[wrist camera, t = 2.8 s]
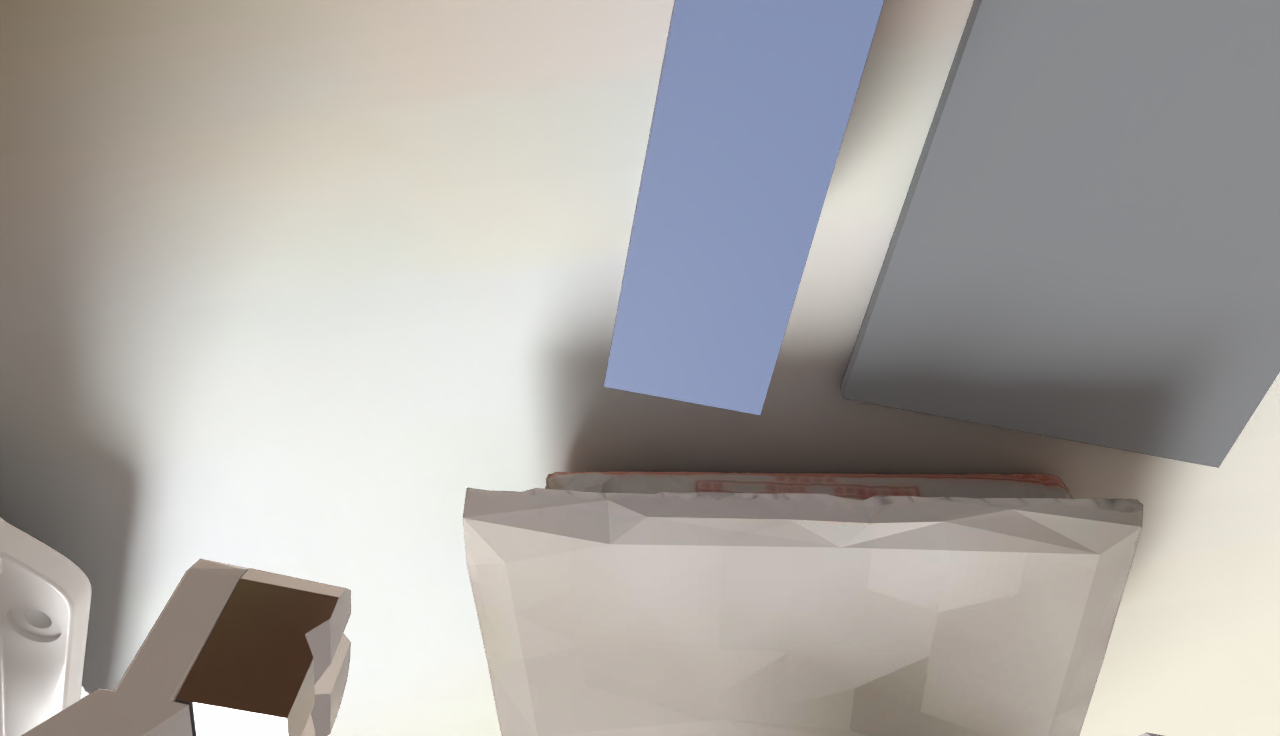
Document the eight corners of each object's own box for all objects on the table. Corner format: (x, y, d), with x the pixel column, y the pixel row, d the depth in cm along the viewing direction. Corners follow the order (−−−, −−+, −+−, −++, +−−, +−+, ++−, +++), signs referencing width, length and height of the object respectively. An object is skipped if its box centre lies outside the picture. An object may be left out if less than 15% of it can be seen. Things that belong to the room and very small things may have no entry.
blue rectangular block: (755, 257, 29) (760, 415, 23) (630, 233, 28) (603, 386, 23) (852, -104, 23) (889, -17, 18) (699, -135, 23) (686, -58, 17)
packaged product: (1040, 649, 36) (1101, 414, 31) (1080, 773, 32) (1158, 529, 27) (517, 636, 38) (485, 407, 32) (493, 754, 34) (451, 517, 28)
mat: (1210, 454, 31) (1218, 467, 30) (840, 386, 31) (842, 398, 30) (1581, -139, 22) (1601, -134, 21) (1059, -247, 21) (1067, -244, 21)
